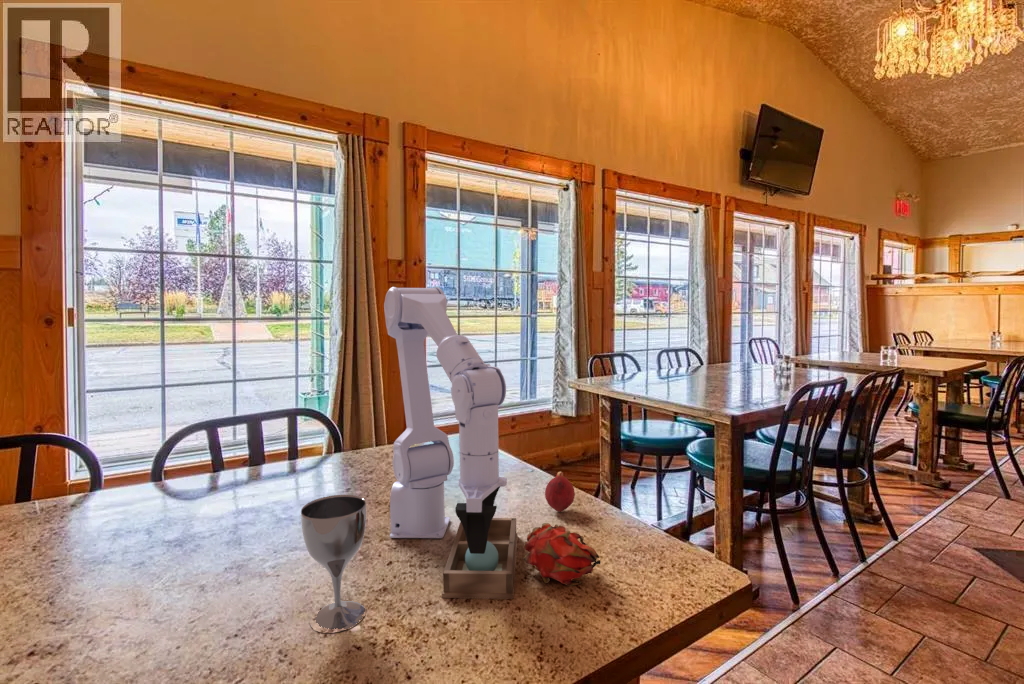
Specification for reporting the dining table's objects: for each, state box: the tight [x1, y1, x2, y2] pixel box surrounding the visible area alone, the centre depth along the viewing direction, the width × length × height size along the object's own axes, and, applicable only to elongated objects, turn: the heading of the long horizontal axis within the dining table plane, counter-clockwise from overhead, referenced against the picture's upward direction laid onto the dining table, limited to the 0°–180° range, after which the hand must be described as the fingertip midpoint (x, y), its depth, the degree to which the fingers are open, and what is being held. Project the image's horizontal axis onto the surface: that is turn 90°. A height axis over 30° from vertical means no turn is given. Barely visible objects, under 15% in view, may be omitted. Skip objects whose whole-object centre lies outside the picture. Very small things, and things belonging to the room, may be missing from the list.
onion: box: [544, 471, 576, 513], centre depth 99 cm, size 6×6×8 cm
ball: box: [465, 541, 499, 571], centre depth 75 cm, size 5×5×5 cm
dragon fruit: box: [522, 522, 601, 587], centre depth 76 cm, size 8×8×12 cm
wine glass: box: [300, 494, 367, 630], centre depth 66 cm, size 8×8×15 cm
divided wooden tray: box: [441, 517, 519, 600], centre depth 80 cm, size 10×19×3 cm, turn 177°
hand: (480, 539), depth 75 cm, fingers open, 7 cm apart
